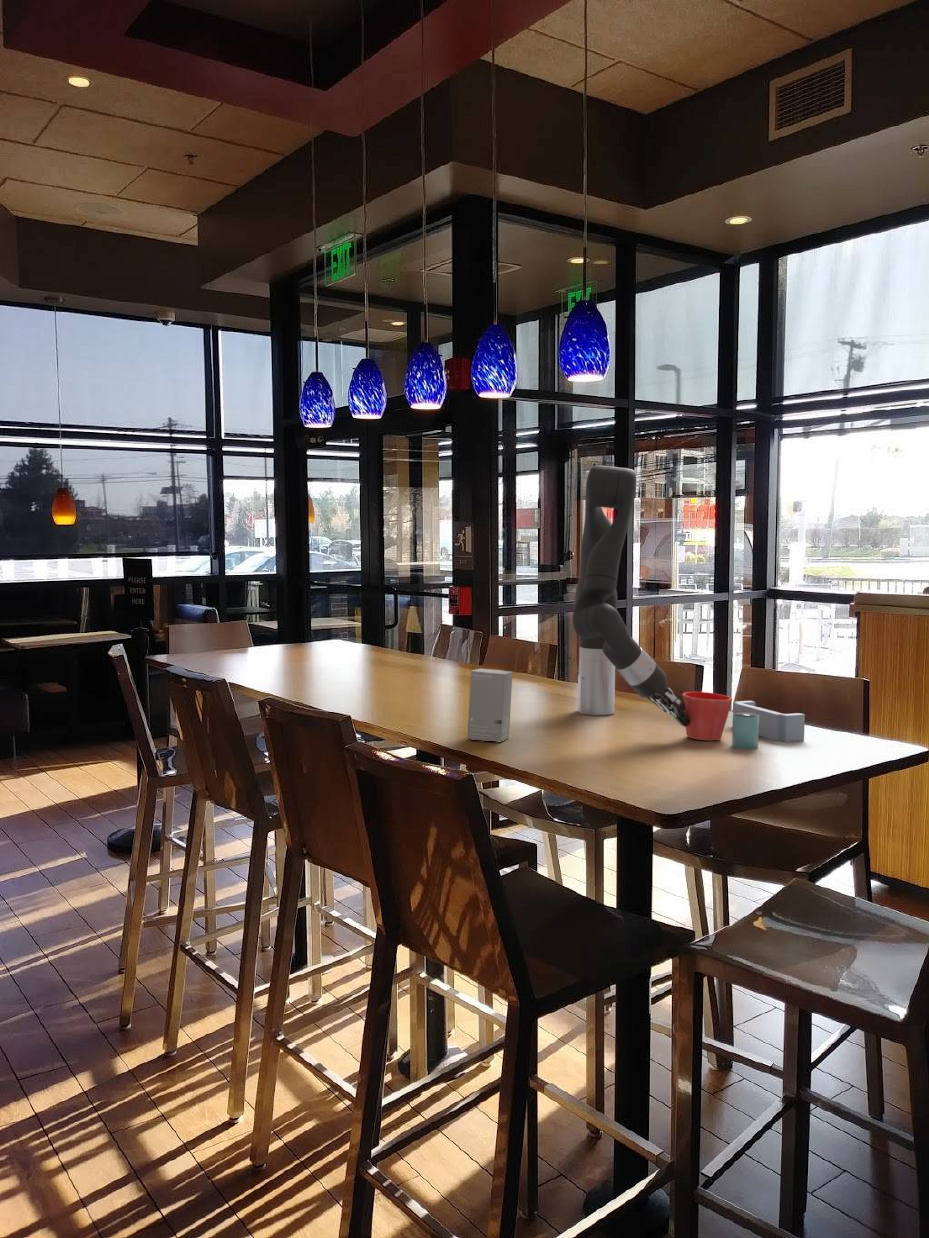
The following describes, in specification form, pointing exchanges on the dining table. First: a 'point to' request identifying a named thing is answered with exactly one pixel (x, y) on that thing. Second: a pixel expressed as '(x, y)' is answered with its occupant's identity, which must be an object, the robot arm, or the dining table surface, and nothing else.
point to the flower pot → (706, 714)
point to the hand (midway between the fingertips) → (686, 723)
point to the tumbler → (745, 730)
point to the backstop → (774, 722)
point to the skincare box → (489, 705)
